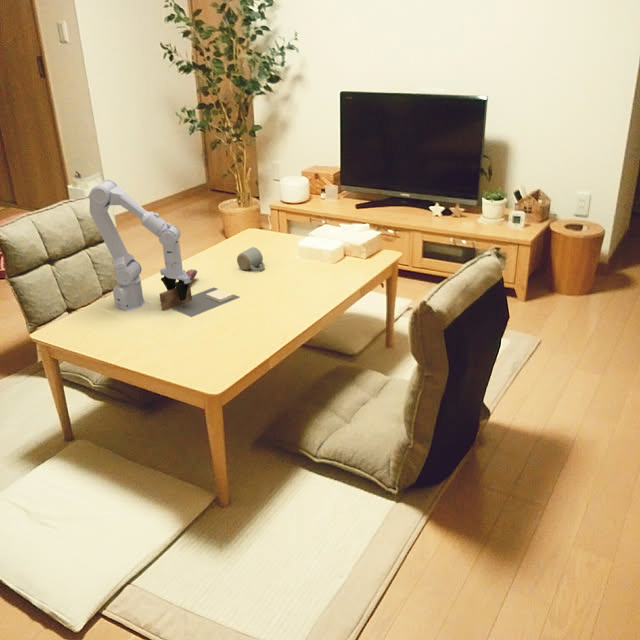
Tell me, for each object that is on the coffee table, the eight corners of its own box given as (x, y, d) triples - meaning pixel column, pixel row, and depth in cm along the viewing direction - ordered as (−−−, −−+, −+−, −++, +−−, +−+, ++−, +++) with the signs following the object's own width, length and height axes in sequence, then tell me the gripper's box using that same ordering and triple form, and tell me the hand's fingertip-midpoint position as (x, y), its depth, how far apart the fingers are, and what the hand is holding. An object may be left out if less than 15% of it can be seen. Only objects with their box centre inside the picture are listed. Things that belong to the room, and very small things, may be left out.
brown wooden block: (164, 310, 231) (162, 294, 228) (161, 309, 232) (159, 293, 229) (192, 300, 239) (190, 284, 236) (189, 298, 240) (187, 283, 237)
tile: (220, 299, 235) (233, 294, 239) (205, 294, 240) (218, 289, 244) (220, 303, 235) (233, 297, 239) (206, 297, 240) (219, 292, 244)
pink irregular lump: (185, 293, 250) (191, 278, 247) (174, 287, 250) (180, 272, 247) (194, 283, 259) (200, 268, 256) (184, 278, 259) (190, 263, 256)
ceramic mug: (236, 269, 268) (234, 250, 265) (249, 263, 274) (248, 245, 271) (255, 274, 262) (254, 256, 259) (269, 268, 268) (268, 250, 265)
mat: (191, 318, 225) (191, 316, 225) (165, 307, 235) (165, 305, 235) (240, 298, 240) (240, 297, 240) (214, 288, 249) (213, 287, 249)
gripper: (195, 262, 227) (199, 299, 233) (170, 253, 236) (174, 289, 242) (178, 268, 222) (183, 305, 228) (153, 259, 231) (158, 295, 237)
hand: (177, 297), depth 235 cm, fingers open, 5 cm apart
